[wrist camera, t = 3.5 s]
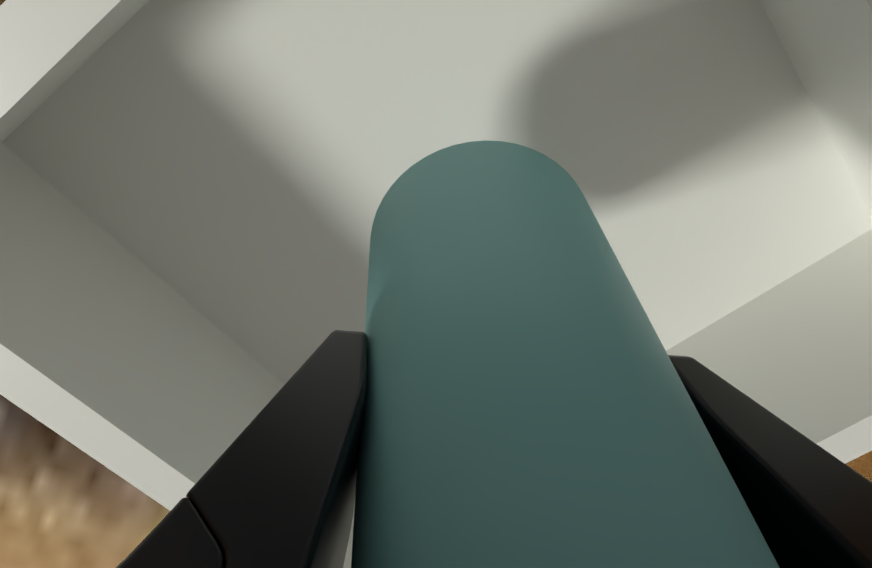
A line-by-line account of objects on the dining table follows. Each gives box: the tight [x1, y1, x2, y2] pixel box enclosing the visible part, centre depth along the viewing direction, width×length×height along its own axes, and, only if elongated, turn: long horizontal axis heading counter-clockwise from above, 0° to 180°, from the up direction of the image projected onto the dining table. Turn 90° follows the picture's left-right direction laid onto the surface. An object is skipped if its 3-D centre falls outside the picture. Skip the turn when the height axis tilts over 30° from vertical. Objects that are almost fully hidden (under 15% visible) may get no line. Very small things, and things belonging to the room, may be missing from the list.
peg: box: [351, 140, 780, 568], centre depth 8 cm, size 4×4×9 cm
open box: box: [0, 0, 872, 568], centre depth 13 cm, size 14×14×5 cm
